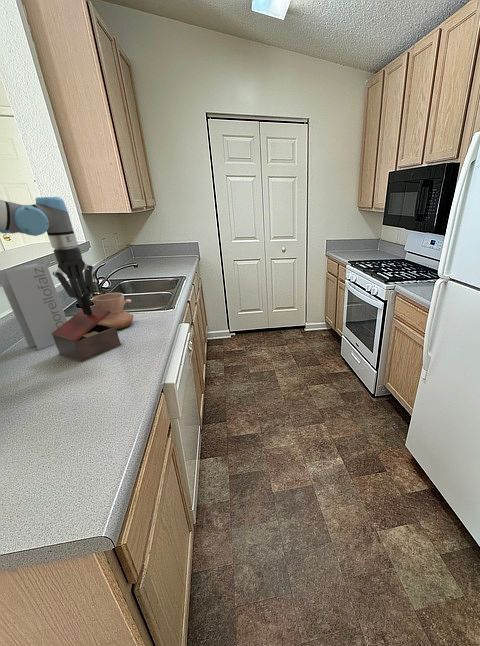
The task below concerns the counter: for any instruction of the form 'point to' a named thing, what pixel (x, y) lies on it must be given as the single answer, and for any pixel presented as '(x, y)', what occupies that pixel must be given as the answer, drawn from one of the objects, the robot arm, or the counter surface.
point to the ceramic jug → (113, 309)
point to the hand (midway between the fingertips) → (88, 314)
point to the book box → (89, 343)
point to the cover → (80, 324)
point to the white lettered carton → (34, 302)
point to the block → (89, 334)
